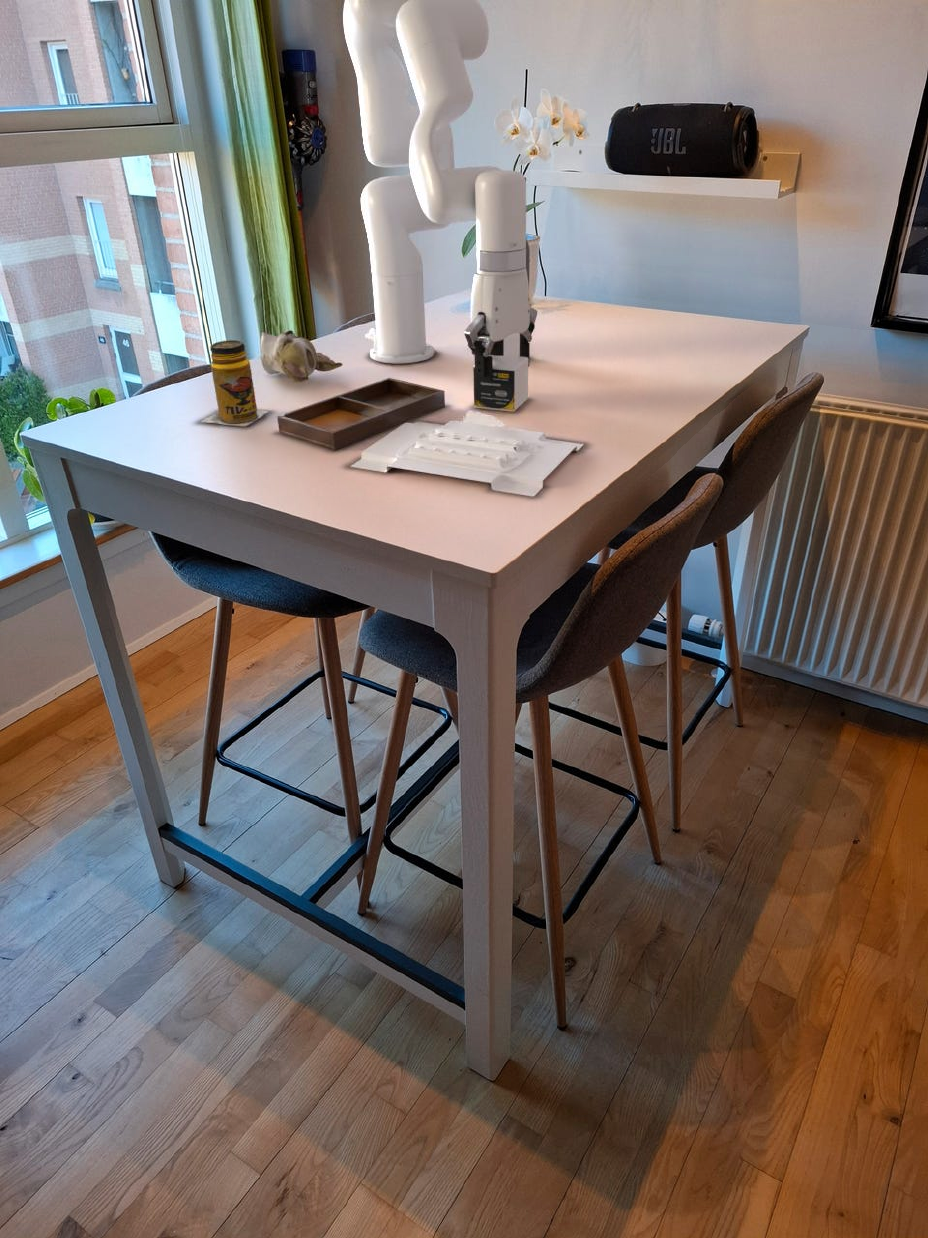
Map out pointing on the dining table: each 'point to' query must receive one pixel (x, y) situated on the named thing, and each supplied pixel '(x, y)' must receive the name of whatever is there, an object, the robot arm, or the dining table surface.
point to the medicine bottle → (504, 377)
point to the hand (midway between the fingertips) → (502, 373)
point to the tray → (471, 452)
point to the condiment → (233, 385)
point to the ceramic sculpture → (292, 356)
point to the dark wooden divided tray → (360, 413)
